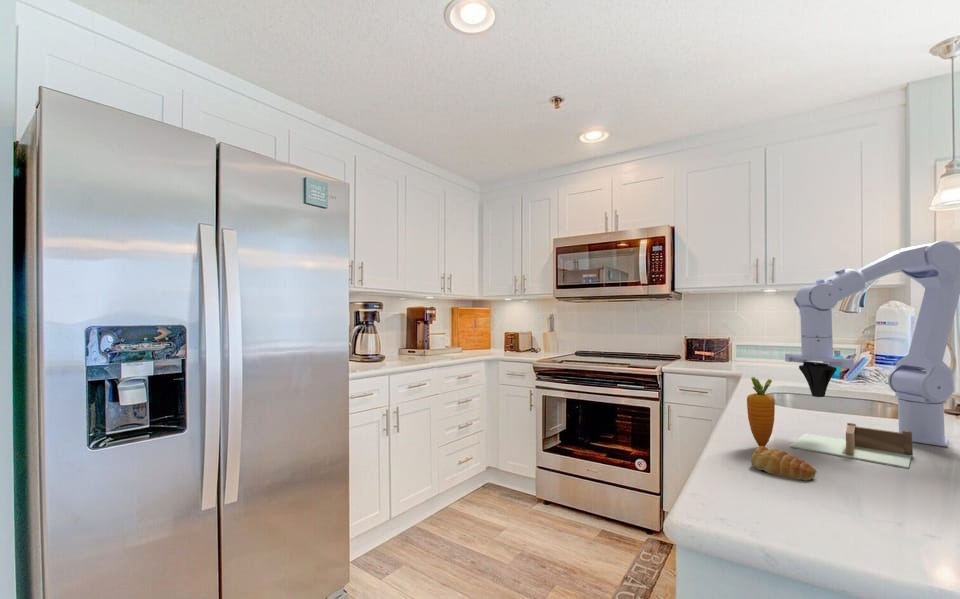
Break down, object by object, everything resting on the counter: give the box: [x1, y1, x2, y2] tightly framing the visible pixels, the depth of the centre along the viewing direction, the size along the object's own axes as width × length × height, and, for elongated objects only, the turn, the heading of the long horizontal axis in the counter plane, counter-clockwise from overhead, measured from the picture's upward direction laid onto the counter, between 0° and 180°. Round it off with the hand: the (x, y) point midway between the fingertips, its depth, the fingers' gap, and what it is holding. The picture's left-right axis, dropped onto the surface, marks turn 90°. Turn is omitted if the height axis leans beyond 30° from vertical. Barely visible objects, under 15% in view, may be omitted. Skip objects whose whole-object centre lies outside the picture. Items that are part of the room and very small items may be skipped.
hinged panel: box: [845, 424, 855, 454], centre depth 89 cm, size 1×8×4 cm, turn 138°
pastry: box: [750, 446, 817, 481], centre depth 78 cm, size 9×7×4 cm
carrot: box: [746, 376, 776, 447], centre depth 92 cm, size 5×5×15 cm
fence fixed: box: [846, 422, 914, 456], centre depth 90 cm, size 1×10×4 cm, turn 43°
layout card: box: [789, 432, 913, 470], centre depth 91 cm, size 14×18×1 cm
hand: (818, 396), depth 100 cm, fingers closed
